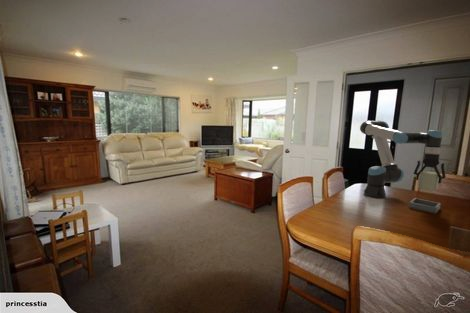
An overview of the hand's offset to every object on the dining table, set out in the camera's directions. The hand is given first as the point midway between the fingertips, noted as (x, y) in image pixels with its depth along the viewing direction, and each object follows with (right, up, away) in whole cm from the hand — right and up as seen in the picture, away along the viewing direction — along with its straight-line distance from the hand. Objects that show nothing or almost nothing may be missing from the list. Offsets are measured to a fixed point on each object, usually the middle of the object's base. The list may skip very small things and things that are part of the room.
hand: (427, 186), depth 151 cm
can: (0, -2, 0) cm, 2 cm away
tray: (-1, -15, +2) cm, 15 cm away
